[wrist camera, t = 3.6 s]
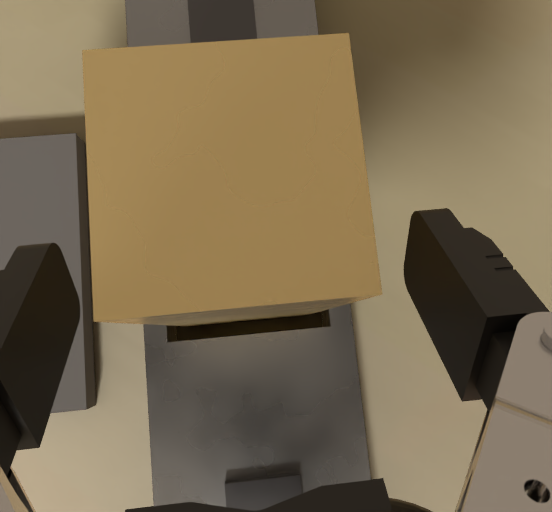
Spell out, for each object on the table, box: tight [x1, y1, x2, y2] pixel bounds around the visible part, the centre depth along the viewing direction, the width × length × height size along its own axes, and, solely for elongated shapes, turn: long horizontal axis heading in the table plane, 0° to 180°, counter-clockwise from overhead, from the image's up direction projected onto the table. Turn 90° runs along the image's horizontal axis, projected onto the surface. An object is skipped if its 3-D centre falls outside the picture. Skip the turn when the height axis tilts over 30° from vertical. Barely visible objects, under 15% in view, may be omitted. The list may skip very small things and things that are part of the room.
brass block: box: [82, 33, 382, 326], centre depth 13 cm, size 4×4×11 cm
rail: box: [125, 0, 371, 511], centre depth 18 cm, size 24×7×2 cm, turn 5°
